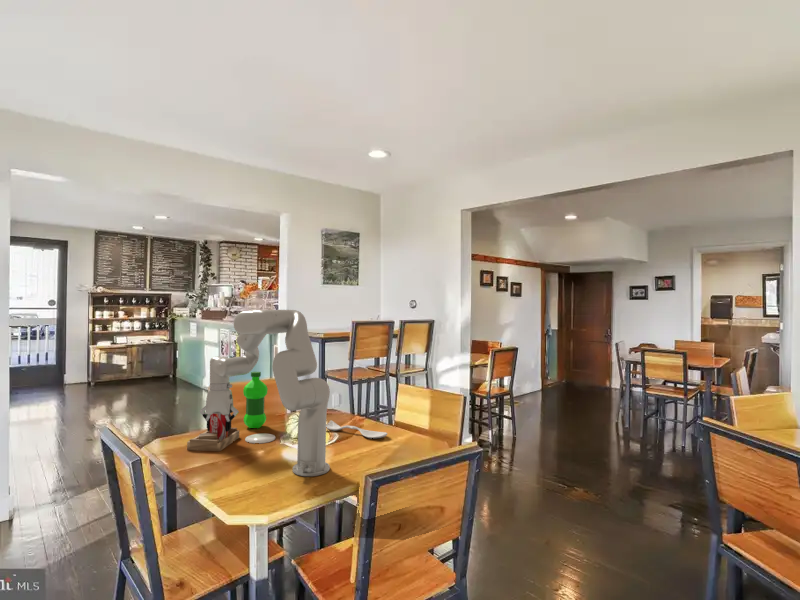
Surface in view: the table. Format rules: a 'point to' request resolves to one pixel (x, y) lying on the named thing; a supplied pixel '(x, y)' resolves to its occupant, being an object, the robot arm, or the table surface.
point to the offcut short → (208, 436)
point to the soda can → (218, 425)
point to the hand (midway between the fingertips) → (218, 430)
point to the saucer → (260, 438)
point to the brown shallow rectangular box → (212, 442)
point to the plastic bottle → (255, 401)
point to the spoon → (365, 433)
